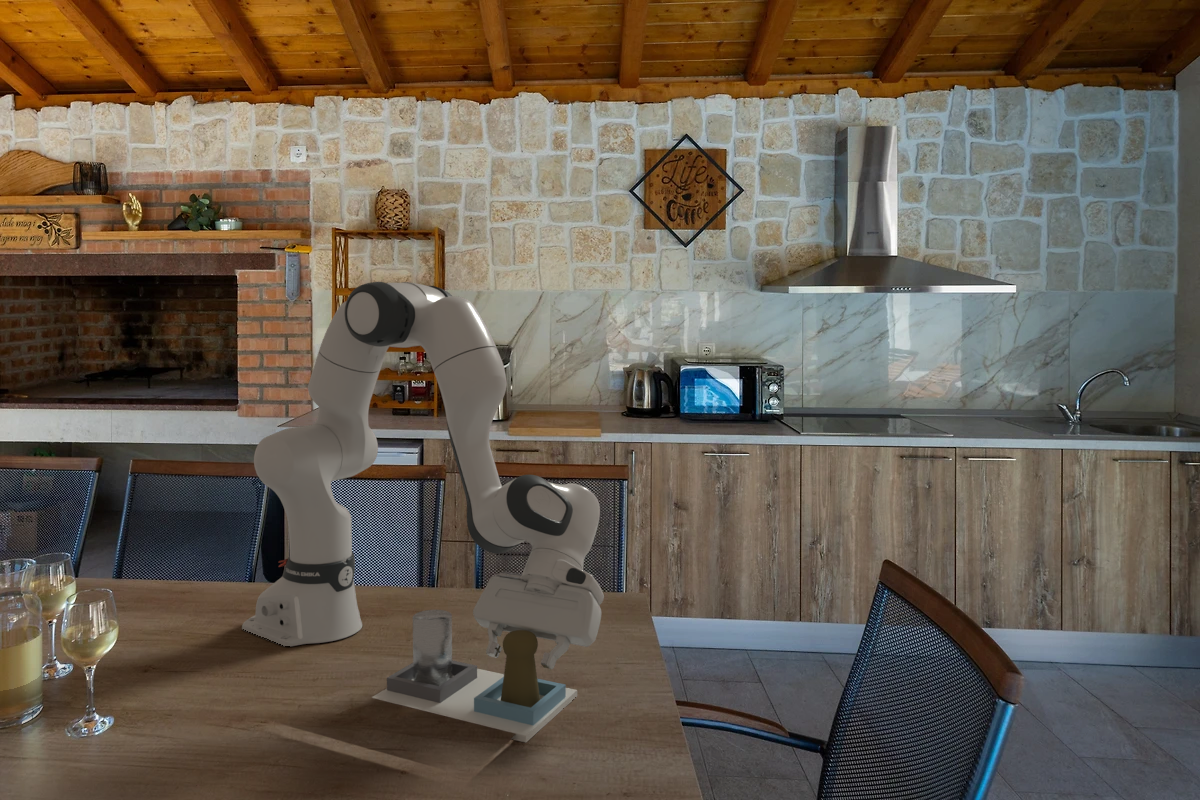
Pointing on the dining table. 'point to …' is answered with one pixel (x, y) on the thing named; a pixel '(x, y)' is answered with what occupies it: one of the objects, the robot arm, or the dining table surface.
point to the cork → (520, 669)
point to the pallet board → (478, 699)
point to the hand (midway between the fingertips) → (518, 661)
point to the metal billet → (432, 647)
